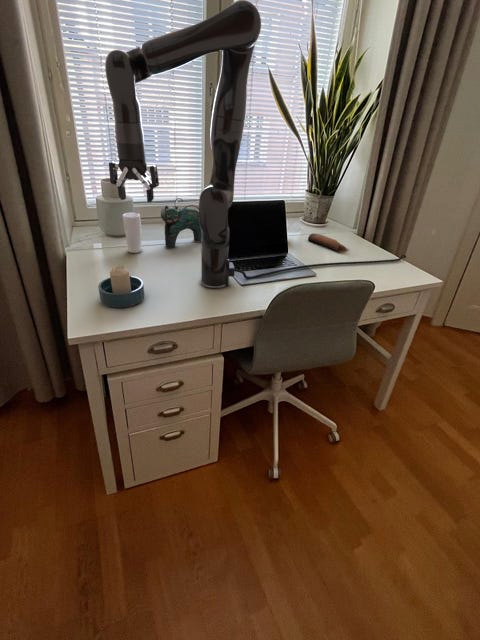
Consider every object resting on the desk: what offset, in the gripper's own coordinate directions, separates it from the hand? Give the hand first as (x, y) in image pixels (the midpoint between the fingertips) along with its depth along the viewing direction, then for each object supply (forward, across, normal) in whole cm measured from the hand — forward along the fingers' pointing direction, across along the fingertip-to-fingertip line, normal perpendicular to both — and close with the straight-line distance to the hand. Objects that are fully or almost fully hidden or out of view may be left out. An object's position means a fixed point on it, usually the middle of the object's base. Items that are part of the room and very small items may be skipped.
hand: (136, 200), depth 105 cm
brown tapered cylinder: (+28, -64, -62) cm, 94 cm away
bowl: (+28, +2, +13) cm, 30 cm away
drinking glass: (+28, +16, -26) cm, 41 cm away
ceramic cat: (+28, 0, -41) cm, 50 cm away
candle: (+27, +2, +13) cm, 30 cm away
